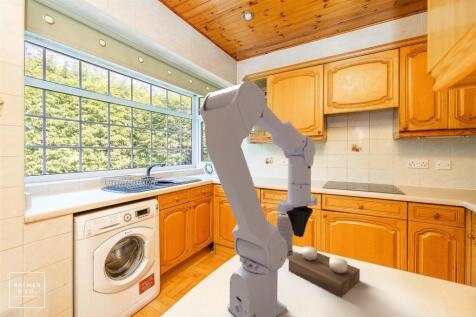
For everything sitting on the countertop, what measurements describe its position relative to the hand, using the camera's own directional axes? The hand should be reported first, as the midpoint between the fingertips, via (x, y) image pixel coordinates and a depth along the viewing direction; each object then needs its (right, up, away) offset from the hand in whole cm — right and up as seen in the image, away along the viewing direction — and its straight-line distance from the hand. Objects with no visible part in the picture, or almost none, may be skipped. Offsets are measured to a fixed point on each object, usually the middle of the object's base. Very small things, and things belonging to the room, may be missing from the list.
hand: (298, 235), depth 55 cm
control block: (+6, -10, 0) cm, 12 cm away
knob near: (+9, -11, -3) cm, 14 cm away
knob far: (+4, -11, +3) cm, 12 cm away
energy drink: (-1, -10, +14) cm, 17 cm away
